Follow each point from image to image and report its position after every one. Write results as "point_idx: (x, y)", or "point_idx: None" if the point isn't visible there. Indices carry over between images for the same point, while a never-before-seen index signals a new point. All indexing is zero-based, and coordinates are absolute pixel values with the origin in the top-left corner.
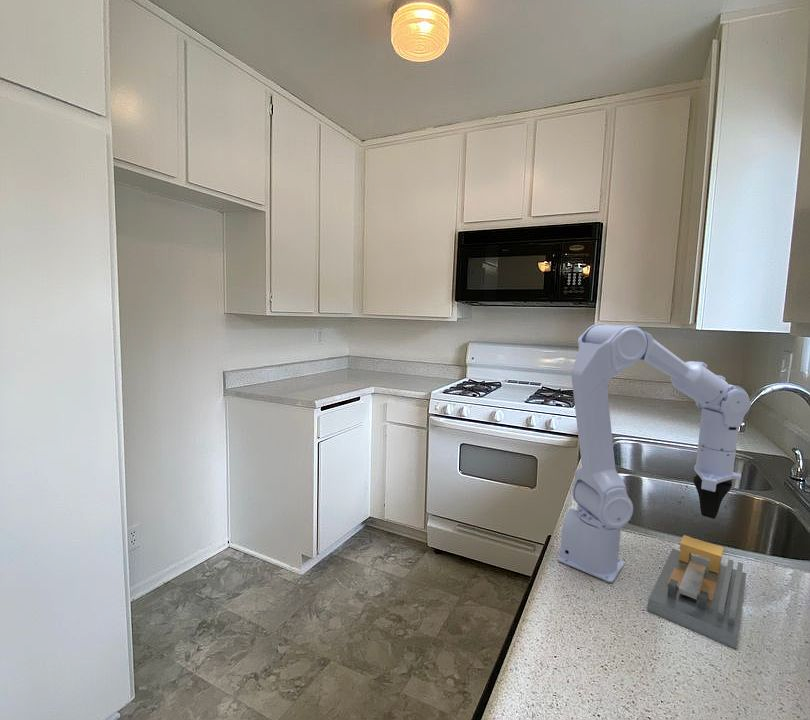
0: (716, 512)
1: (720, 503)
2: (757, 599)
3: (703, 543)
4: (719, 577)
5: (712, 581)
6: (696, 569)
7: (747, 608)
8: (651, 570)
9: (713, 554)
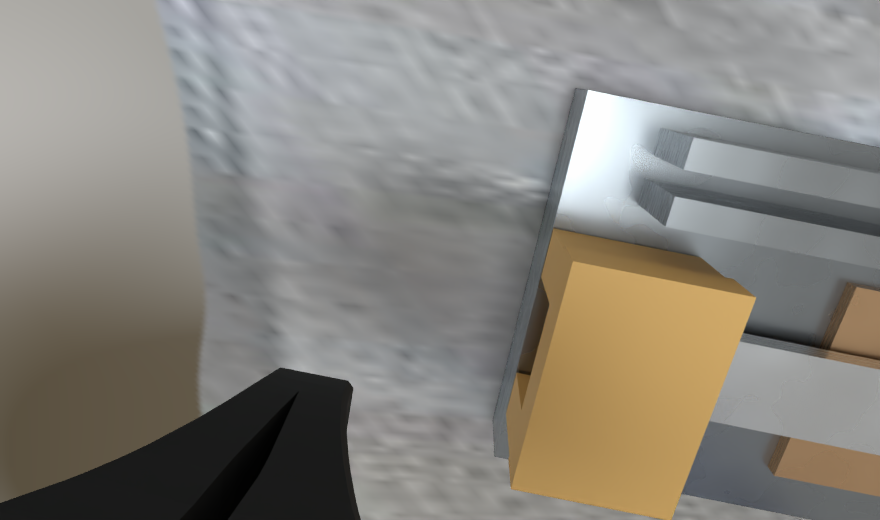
0: (344, 420)
1: (354, 499)
2: (727, 47)
3: (582, 385)
4: (738, 254)
5: (851, 307)
6: (817, 397)
7: (857, 116)
8: (684, 507)
9: (736, 340)
